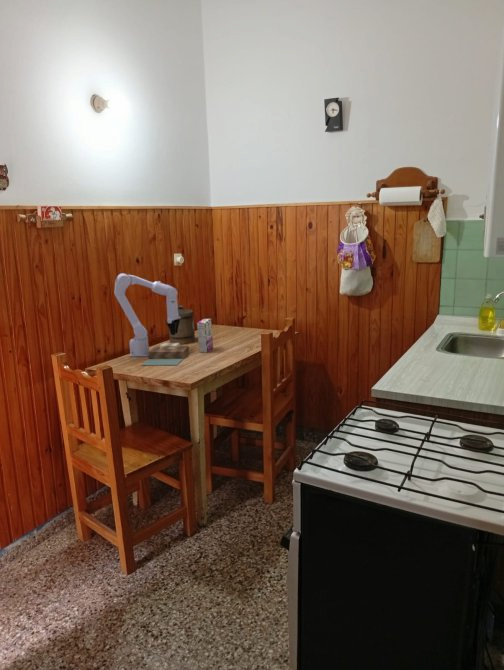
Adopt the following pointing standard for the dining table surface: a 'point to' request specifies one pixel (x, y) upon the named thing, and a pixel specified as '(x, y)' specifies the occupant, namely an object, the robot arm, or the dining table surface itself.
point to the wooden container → (184, 327)
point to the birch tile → (169, 346)
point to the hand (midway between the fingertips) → (174, 333)
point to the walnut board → (169, 353)
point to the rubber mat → (162, 362)
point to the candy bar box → (205, 335)
